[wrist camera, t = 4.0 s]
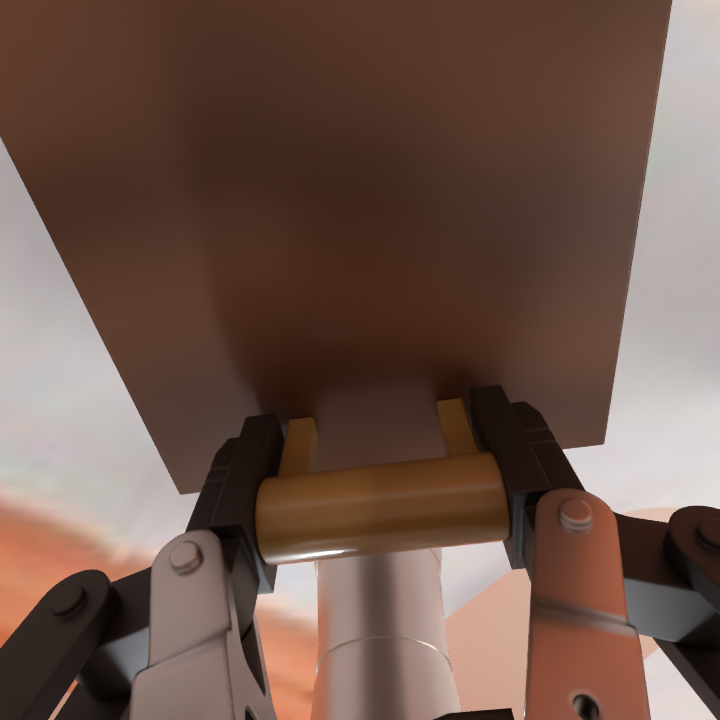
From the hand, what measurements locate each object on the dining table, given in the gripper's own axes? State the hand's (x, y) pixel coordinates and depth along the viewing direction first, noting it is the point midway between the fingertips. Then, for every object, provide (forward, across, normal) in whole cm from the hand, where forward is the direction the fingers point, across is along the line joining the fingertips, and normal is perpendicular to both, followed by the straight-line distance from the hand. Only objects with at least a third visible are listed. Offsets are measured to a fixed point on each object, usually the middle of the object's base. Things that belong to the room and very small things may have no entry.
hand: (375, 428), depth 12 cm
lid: (+1, 0, -6) cm, 6 cm away
